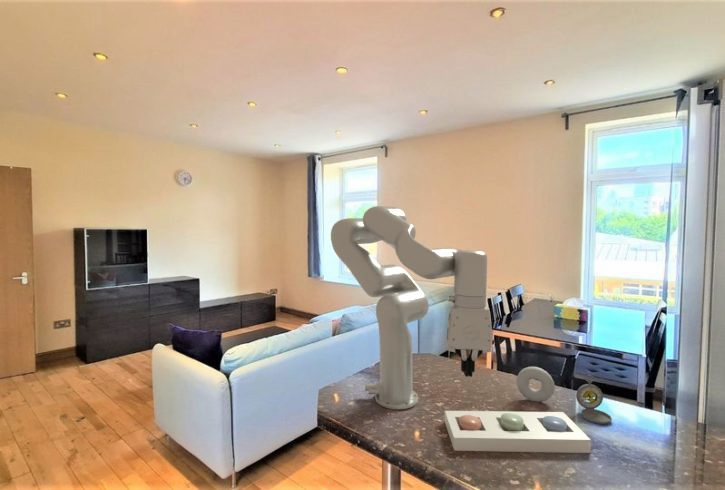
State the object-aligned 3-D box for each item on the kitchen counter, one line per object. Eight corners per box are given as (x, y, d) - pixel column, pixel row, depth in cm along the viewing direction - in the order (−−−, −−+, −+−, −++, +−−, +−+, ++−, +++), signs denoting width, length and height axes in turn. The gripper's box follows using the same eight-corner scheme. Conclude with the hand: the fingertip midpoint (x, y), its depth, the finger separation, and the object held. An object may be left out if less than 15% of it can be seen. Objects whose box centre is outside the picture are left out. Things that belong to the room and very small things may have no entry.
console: (454, 450, 81) (454, 437, 81) (444, 421, 93) (444, 410, 93) (590, 453, 80) (590, 439, 79) (563, 423, 92) (563, 412, 91)
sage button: (505, 432, 84) (505, 423, 84) (498, 420, 89) (498, 412, 89) (526, 432, 84) (526, 424, 83) (518, 421, 89) (518, 413, 88)
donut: (554, 401, 103) (554, 367, 102) (554, 407, 100) (555, 372, 99) (516, 395, 107) (516, 362, 107) (515, 400, 104) (516, 366, 104)
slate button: (548, 435, 83) (548, 427, 83) (539, 423, 88) (539, 415, 88) (570, 435, 83) (570, 427, 83) (560, 424, 88) (560, 416, 88)
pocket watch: (602, 428, 89) (602, 388, 89) (569, 413, 97) (569, 376, 96) (620, 419, 93) (621, 381, 93) (587, 405, 101) (588, 370, 100)
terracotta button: (461, 434, 84) (461, 425, 84) (457, 422, 89) (457, 414, 89) (483, 434, 84) (483, 426, 84) (477, 423, 89) (477, 415, 89)
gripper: (440, 303, 84) (439, 379, 85) (506, 305, 83) (503, 382, 84) (436, 297, 92) (435, 367, 93) (496, 298, 90) (494, 369, 92)
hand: (467, 374), depth 88 cm, fingers closed
